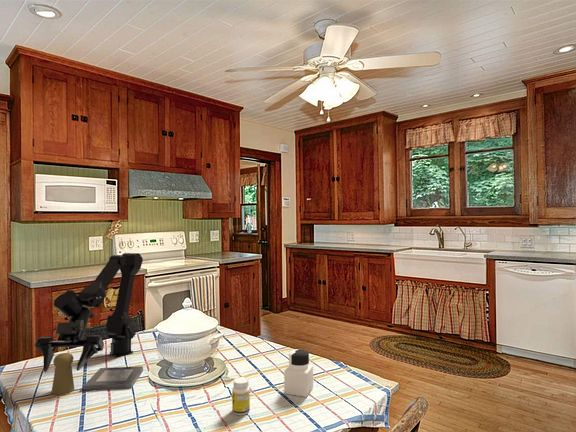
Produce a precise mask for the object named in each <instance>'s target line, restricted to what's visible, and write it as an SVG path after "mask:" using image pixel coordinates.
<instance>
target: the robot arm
mask: <svg viewBox="0 0 576 432" xmlns="http://www.w3.org/2000/svg"><path fill="white" fill-rule="evenodd" d="M143 261H144V259H143V257H142V254H141V253H136V252H135V253H134V252H124V253H122V254H121V255H119V254H117V255H116V254H113V255H110V257H109V259H108V261H107V263H106V264H105V266H104V267H103V268H102V270H101V271H100V272H99V274H98V275H97V277H95V279H94V281H93V282H92V283H90V284H88V285H87V286H85V287H84V288H83V289H82V290H81V291H80V292H79V293H78V294H76V292H75V291H74V290H72V289H67V290H66V291H65V292H63V293H62V294H60V295H59V296H58V297H56V298H55V299H54V301H53V307H55V308H56V309H57V310H58V311H59V312H60V313H61V314H63V315H64V316H65V317H68V318H69V319H68V321H67V322H66V321H65V322H57V324H56V329H55V335H57V334H58V338H59V339H61V340H54V338H53V337H52V336H40V337H38V338H36V340H35V342H34V343H33V344H34V346H35V348H36V349H37V350H38V351H39V353H40V354H42V355H43V356H42V357H43V372H44V373H47V372H48V370H49V367H50V365H51V363H52V362H53V360H54V356H55V350H56V348H74V347H75V348H77V347H78V348H79V347H82V352H81V355H80V357H79V360H78V363H77V365H76V371H80V370H81V369H82V367H83V366H84V365H85V364H86V363H87V361H89V360H90V359H91V358H92V357H93V356H94V355H95V354H98V353H99V352H102V351H103V350H104V348H105V347H104V346H105V343H104V340H103V339H102V337H101V335H100V334H97V335H96V334H95V335H94V334H93V335H89V334H88V335H87V336H86V337H85V339H84V335H86V334H87V326H88V323H89V320H90V319H94V318H95V315H94V313H93V311H92V310H91V309H90V308H99V307H101V305H102V304H103V302H104V300H105V298H106V296H107V291H106V290H107V288H108V287H109V286H110V284H111V282H112V281H113V279H114V278H115V277H116V275H117V274H118V272H119V271H120V274H121V276H120V281H119V287H118V292H117V298H116V302H115V308H114V311H113V312H112V314H110V315H108V316H107V318H106V324H105V331H106V334H107V338H108V339H111V342H110V351H109V354H110V355H112V356H114V357H116V358H118V357H123V356H126V355H130V354H131V355H132V354H133V353H134V351H133V350H132V339H134V338H135V337H136V332H137V331H136V330H135V328H134V327H133V326H132V319H131V315H130V313H129V310H130V304H131V300H132V295H133V293H132V292H133V289H134V283H135V277H136V275H137V274H138V272H140V270H141V267H142V264H143Z"/></svg>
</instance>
